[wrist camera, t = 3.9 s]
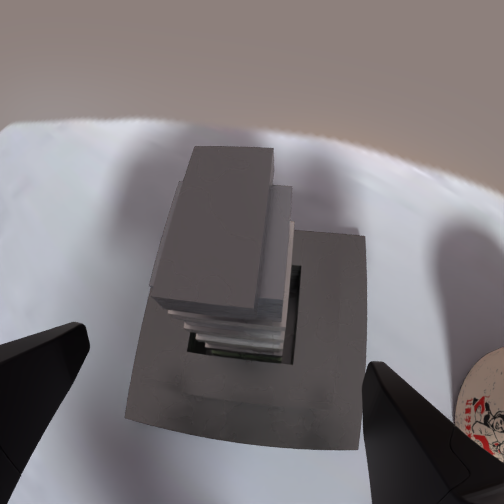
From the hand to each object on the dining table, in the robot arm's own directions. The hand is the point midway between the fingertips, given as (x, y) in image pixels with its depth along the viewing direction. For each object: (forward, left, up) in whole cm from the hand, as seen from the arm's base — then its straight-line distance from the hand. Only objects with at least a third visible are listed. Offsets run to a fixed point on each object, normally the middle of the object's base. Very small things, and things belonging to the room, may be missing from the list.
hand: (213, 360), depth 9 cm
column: (+2, +3, -9) cm, 10 cm away
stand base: (+2, +3, -11) cm, 11 cm away
